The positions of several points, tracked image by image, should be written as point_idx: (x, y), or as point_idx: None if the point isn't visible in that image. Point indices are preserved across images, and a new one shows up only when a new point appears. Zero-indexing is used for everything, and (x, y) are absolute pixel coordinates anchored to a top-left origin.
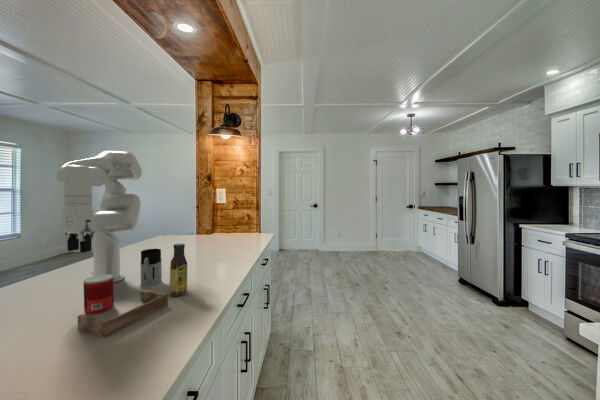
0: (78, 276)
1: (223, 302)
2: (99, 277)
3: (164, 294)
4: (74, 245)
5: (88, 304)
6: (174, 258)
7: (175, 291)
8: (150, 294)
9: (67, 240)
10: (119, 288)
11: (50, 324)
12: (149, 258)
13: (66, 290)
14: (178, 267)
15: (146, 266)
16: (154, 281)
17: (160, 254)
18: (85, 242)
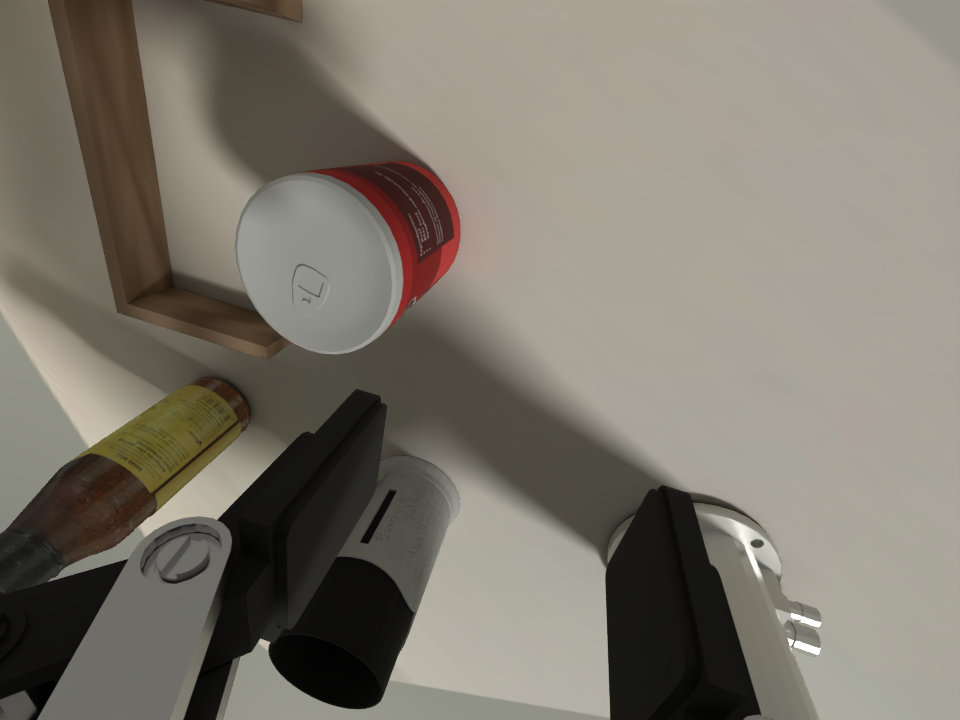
0: (933, 623)
1: (19, 334)
2: (347, 304)
3: (128, 311)
4: (631, 597)
5: (376, 163)
6: (40, 512)
7: (187, 385)
8: (210, 323)
9: (737, 680)
10: (528, 459)
11: (496, 14)
12: None
13: (829, 441)
14: (67, 463)
15: (349, 547)
16: None
17: (295, 641)
18: (220, 520)
